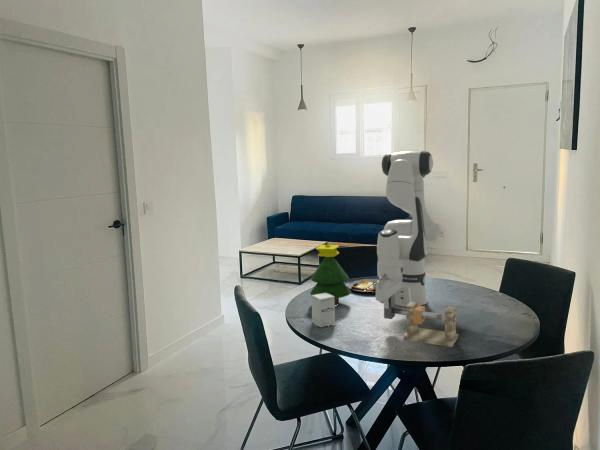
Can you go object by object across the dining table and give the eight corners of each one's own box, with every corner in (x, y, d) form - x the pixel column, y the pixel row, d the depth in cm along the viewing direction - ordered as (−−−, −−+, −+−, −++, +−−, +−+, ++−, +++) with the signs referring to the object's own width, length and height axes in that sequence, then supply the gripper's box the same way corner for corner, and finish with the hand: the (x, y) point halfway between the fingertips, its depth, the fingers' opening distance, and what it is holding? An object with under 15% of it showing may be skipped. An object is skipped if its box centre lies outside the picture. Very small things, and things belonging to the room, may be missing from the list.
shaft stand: (403, 339, 178) (403, 307, 176) (411, 330, 187) (411, 299, 185) (451, 347, 169) (452, 314, 167) (458, 337, 177) (458, 305, 175)
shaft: (384, 318, 184) (383, 293, 183) (387, 314, 188) (387, 290, 186) (440, 326, 173) (440, 300, 171) (443, 323, 176) (443, 297, 175)
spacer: (413, 323, 178) (412, 309, 177) (417, 318, 182) (417, 305, 181) (420, 324, 176) (420, 310, 175) (425, 319, 181) (425, 306, 180)
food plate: (382, 297, 229) (382, 290, 228) (340, 292, 241) (340, 286, 241) (400, 286, 250) (400, 279, 249) (360, 281, 262) (360, 275, 262)
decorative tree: (355, 300, 227) (354, 239, 223) (345, 313, 210) (343, 247, 205) (318, 297, 234) (316, 238, 230) (305, 309, 217) (302, 246, 212)
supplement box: (320, 329, 192) (319, 299, 190) (311, 323, 199) (310, 294, 197) (335, 325, 195) (334, 296, 194) (326, 320, 202) (325, 291, 200)
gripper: (387, 279, 172) (387, 315, 174) (405, 266, 189) (405, 299, 191) (370, 277, 175) (371, 312, 177) (390, 265, 193) (390, 297, 195)
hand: (389, 305), depth 185 cm, fingers closed on shaft, 4 cm apart
